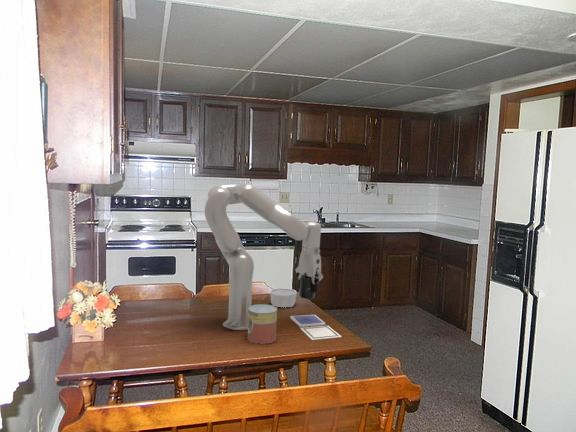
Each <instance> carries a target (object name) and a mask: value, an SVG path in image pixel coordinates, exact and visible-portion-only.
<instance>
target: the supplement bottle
mask: <svg viewBox="0 0 576 432" xmlns="http://www.w3.org/2000/svg"><path fill="white" fill-rule="evenodd" d="M306 275H307V274H306V272H305V273H304V275H303V276H302V277H301V281H300V289H299V293H298V297H300V298H302V299H306V300H307V299H308V300H311V299H314V298H315V293H316V292H315V293H311V284H313V283H312V279H311V277H308V276H306ZM314 280H315V278H314Z"/></svg>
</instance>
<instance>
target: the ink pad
mask: <svg viewBox="0 0 576 432" xmlns="http://www.w3.org/2000/svg"><path fill="white" fill-rule="evenodd" d="M289 319H291V321H292V322H294V323H295V325H297V326H298V328H306V327H309V326H310V327H317V326H327V325H326V322H325V321H323V320H322V318H320V317H318V315H316V314H305V315H291V316H290V317H289Z"/></svg>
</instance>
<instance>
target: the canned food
mask: <svg viewBox="0 0 576 432" xmlns="http://www.w3.org/2000/svg"><path fill="white" fill-rule="evenodd" d="M248 310H249V311H248V329H247V337H246V338H248V339H247V340H248V342H251V343H253V342H255V343H254V344H258V343H260V344H259V345H264V344H266V343H267V344H270V343H273V341H274V342H275V341H276V340H277V318H278V317H277V316H278V315H277V314H278V313H277V312H278V307H275V306H273V305H272V304H265V303H264V304H263V303H258V304H251V306H250V307H249V308H248Z"/></svg>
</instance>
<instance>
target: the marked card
mask: <svg viewBox="0 0 576 432" xmlns="http://www.w3.org/2000/svg"><path fill="white" fill-rule="evenodd" d="M299 329H300V330H301V331H302V332H303V333H304V334H305V335H306V336H307V337H308V338H309V339H310V340H311V341H317V340H319V341H320V340H327V339H338V338H342V335H340V334H339V333H338V332H337V331H336V330H334V328H332V327H330V325H321V326H310V327H299Z"/></svg>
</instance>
